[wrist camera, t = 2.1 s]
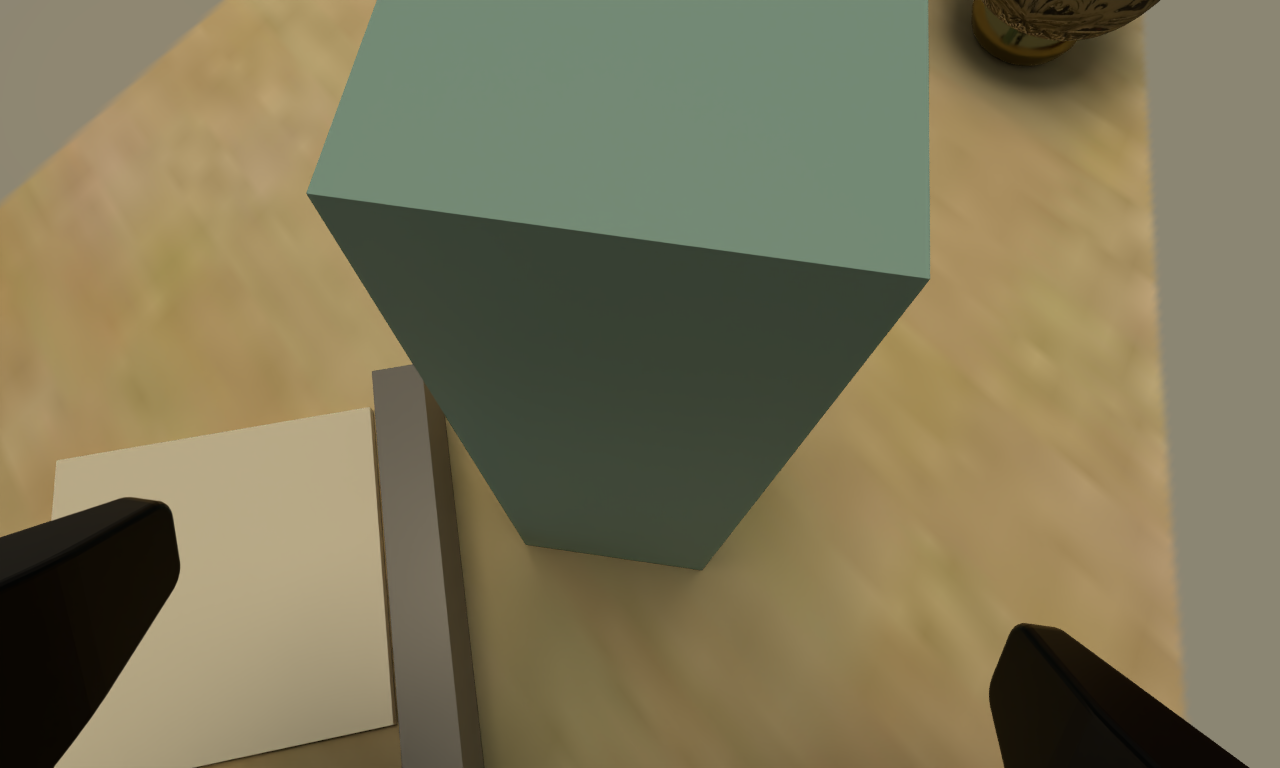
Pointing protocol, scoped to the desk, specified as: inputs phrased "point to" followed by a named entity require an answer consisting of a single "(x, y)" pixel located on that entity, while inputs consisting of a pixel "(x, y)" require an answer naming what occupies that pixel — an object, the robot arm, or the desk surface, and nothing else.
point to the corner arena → (294, 590)
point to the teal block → (634, 239)
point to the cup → (1047, 25)
